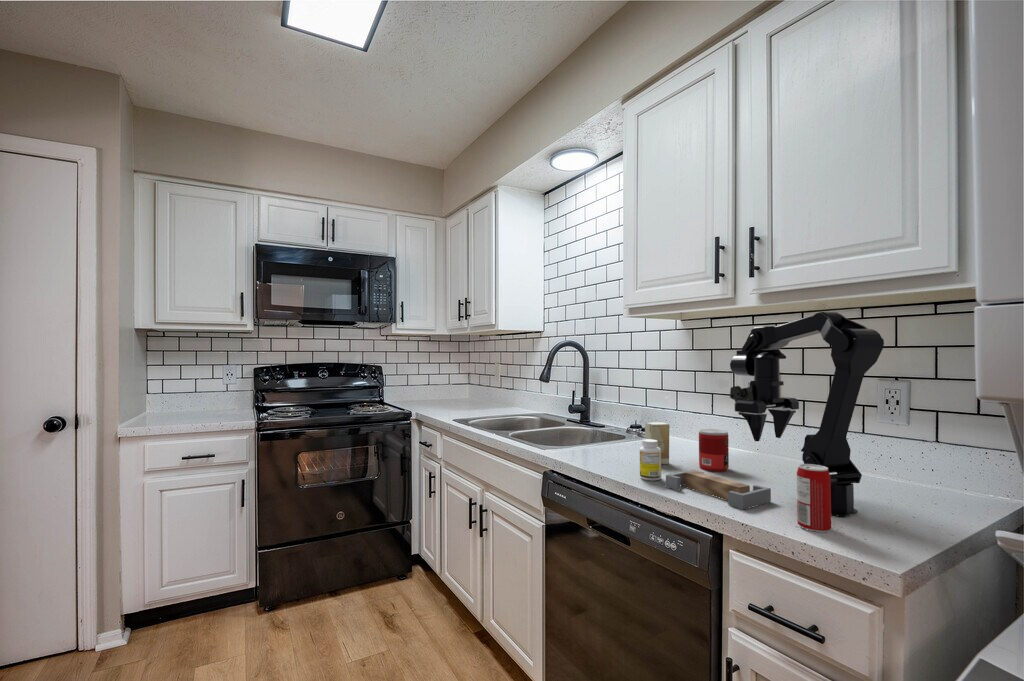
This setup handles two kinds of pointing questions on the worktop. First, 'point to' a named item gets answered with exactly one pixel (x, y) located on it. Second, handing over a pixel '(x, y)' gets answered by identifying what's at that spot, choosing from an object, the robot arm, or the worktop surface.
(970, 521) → the worktop surface
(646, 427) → the skincare box
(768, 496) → the end cap
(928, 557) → the worktop surface
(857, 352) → the robot arm
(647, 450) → the supplement bottle
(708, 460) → the canned food
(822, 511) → the soda can
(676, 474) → the end cap
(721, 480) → the slat
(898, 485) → the worktop surface
